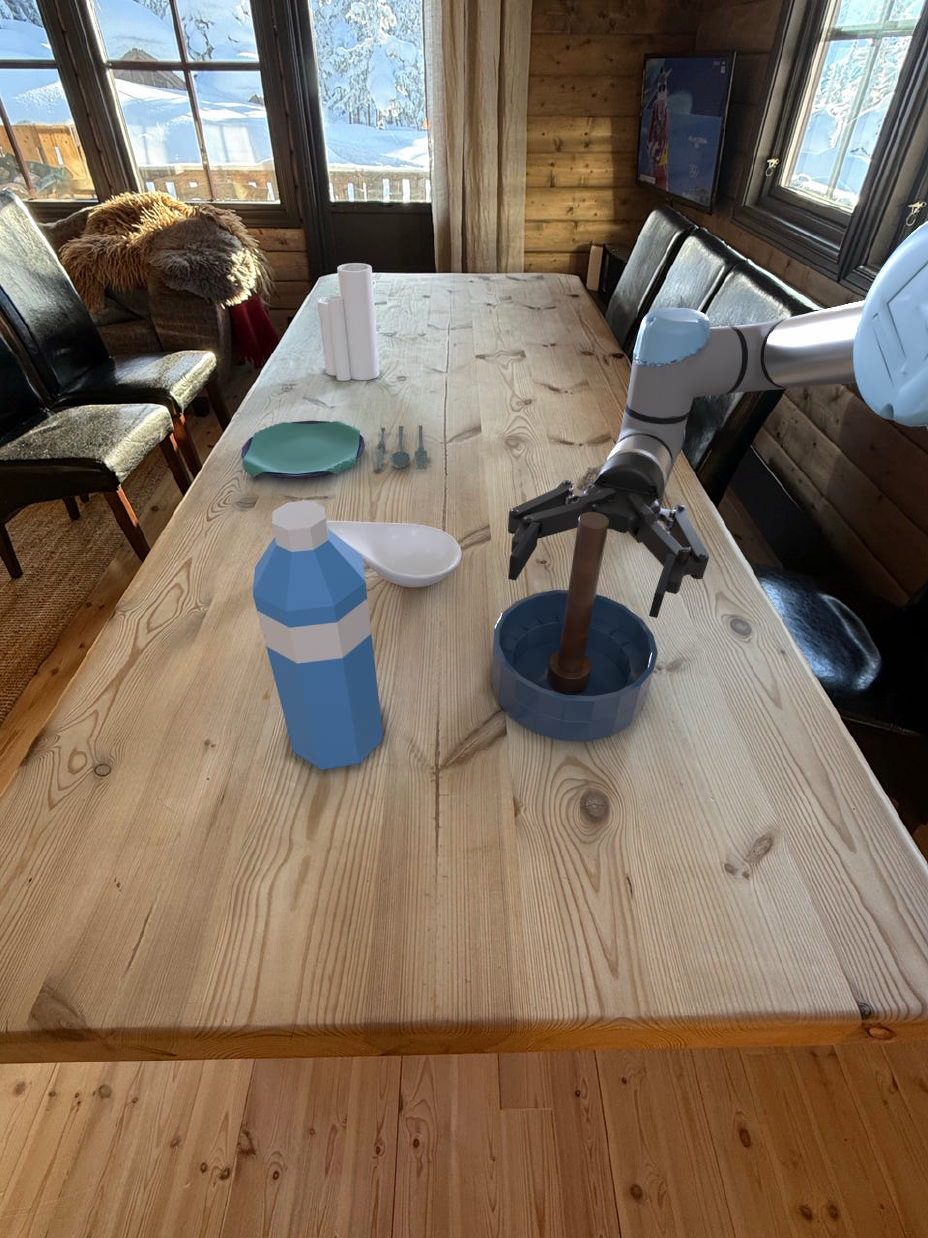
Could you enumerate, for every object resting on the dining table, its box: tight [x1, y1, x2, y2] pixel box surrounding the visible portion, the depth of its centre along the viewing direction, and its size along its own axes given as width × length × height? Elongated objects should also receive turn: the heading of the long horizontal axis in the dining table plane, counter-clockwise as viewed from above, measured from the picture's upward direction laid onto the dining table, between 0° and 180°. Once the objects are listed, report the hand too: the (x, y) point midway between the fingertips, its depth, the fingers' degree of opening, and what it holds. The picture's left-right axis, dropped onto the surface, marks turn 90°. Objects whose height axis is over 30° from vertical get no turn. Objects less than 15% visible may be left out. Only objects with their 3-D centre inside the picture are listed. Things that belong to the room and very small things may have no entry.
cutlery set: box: [240, 420, 428, 479], centre depth 108 cm, size 20×30×2 cm, turn 93°
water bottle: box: [252, 500, 384, 771], centre depth 57 cm, size 9×9×25 cm
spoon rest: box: [327, 520, 462, 588], centre depth 82 cm, size 24×12×7 cm, turn 94°
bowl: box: [490, 589, 659, 743], centre depth 68 cm, size 16×16×6 cm
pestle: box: [547, 512, 609, 695], centre depth 63 cm, size 4×4×20 cm
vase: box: [316, 262, 380, 382], centre depth 130 cm, size 11×7×20 cm, turn 89°
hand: (581, 586), depth 61 cm, fingers open, 13 cm apart
